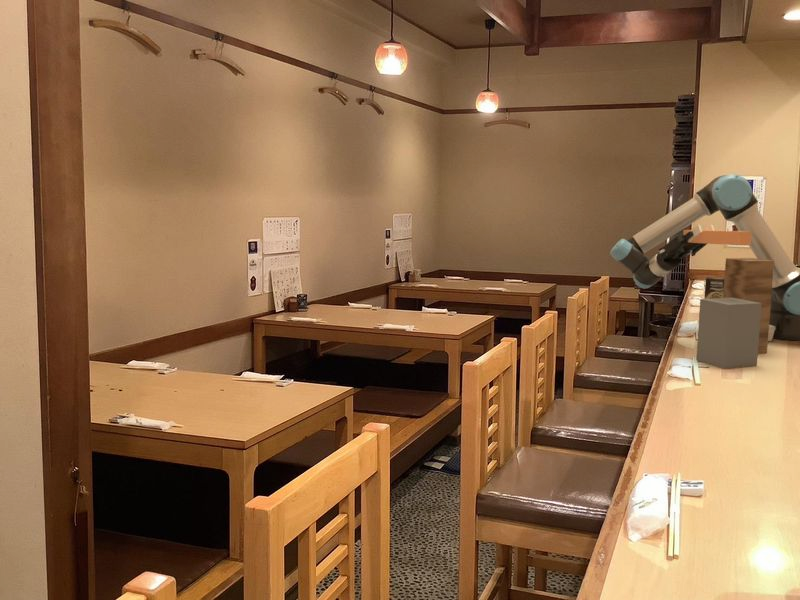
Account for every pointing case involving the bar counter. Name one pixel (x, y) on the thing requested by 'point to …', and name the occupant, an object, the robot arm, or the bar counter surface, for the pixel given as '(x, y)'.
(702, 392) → the bar counter surface
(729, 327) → the low post
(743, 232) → the beam
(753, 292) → the tall post
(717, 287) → the coffee box
